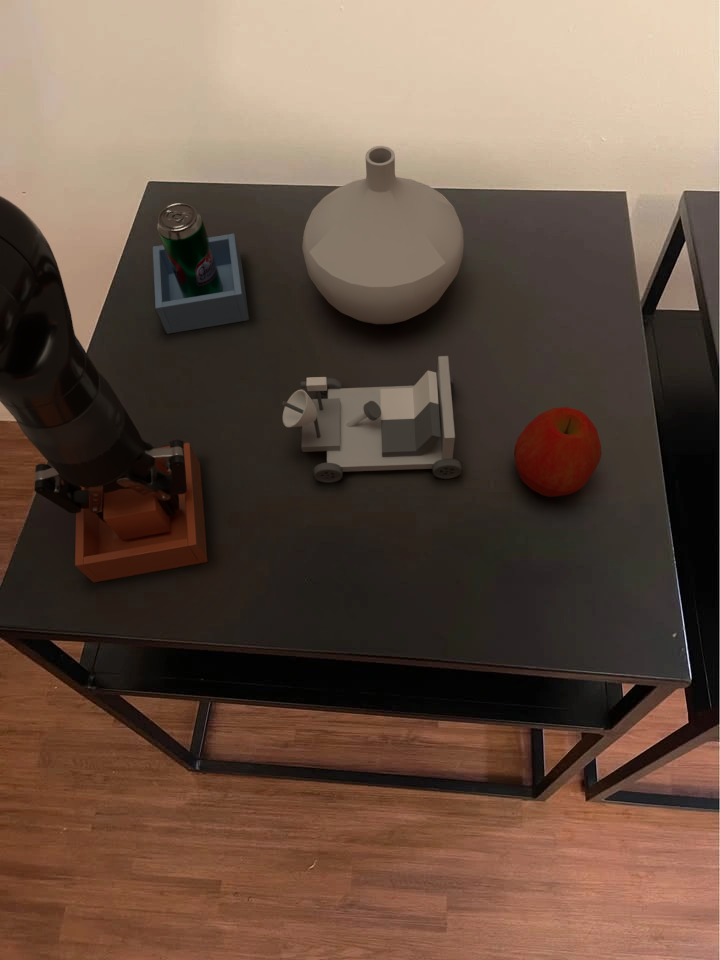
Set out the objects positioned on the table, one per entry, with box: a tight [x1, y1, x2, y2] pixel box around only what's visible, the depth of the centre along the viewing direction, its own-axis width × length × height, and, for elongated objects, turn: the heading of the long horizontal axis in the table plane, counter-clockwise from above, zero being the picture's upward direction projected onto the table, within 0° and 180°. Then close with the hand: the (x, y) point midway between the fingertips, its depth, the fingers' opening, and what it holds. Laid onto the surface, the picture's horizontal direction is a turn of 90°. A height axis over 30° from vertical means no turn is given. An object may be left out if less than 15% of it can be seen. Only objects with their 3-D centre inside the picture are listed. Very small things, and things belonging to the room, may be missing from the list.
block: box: [103, 488, 170, 540], centre depth 72 cm, size 5×5×5 cm
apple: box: [513, 406, 602, 498], centre depth 70 cm, size 8×8×11 cm
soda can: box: [156, 202, 223, 298], centre depth 84 cm, size 5×5×12 cm
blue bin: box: [152, 233, 250, 335], centre depth 88 cm, size 10×10×5 cm
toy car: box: [281, 355, 463, 484], centre depth 74 cm, size 18×10×12 cm
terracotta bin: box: [74, 442, 208, 583], centre depth 73 cm, size 12×12×5 cm
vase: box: [301, 145, 465, 325], centre depth 80 cm, size 18×18×19 cm
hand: (143, 512), depth 73 cm, fingers closed on block, 5 cm apart
